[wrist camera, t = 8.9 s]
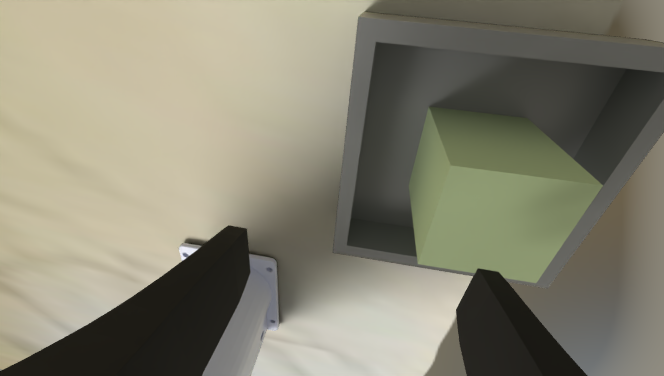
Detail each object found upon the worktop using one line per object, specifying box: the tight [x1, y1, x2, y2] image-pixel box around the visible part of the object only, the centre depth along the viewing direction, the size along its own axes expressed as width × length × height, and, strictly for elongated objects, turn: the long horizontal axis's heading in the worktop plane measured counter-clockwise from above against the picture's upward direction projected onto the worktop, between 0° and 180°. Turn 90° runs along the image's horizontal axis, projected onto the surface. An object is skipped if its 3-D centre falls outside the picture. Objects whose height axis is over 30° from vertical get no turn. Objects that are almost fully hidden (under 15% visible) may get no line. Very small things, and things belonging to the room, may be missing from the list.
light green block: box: [409, 107, 603, 283], centre depth 13 cm, size 5×5×6 cm
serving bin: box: [333, 12, 664, 288], centre depth 15 cm, size 12×12×4 cm
